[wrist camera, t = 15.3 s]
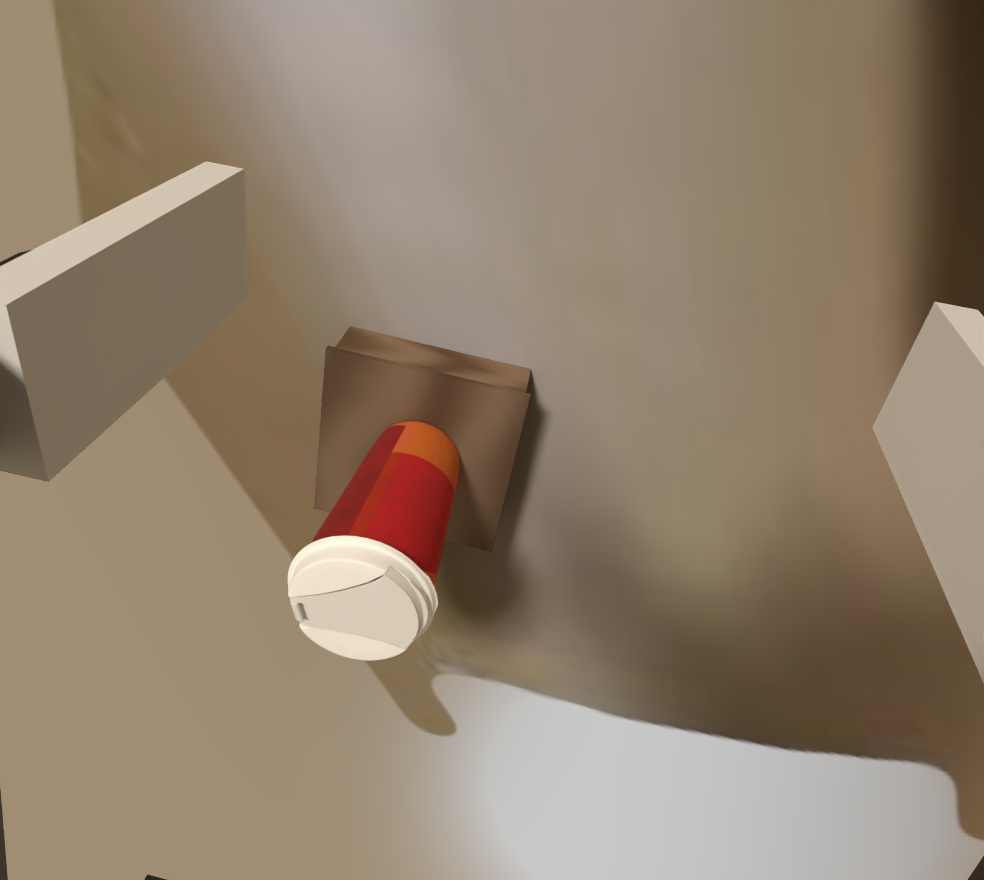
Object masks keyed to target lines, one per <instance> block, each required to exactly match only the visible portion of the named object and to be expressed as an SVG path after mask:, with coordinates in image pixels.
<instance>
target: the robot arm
mask: <svg viewBox="0 0 984 880" xmlns="http://www.w3.org/2000/svg"><path fill="white" fill-rule="evenodd" d="M249 300H250V290H249V269H248V247H247V226H246V205H245V183H244V169H242V168H237V167H232V166H226V165H221V164H216V163H211V162H204V163H202V164H201V165H199V166H197V167H195V168H193V169H191V170H189V171H187V172H185V173H183V174H181V175H179V176H177V177H175V178H173V179H171V180H169V181H167V182H165V183H163V184H161V185H159V186H157V187H155V188H153V189H151V190H149V191H147V192H145V193H143V194H142V195H140V196H138V197H136V198H134V199H132V200H130V201H128V202H126V203H124V204H122V205H120V206H118V207H116V208H114V209H112V210H110V211H108V212H106V213H104V214H102V215H100V216H98V217H96V218H94V219H92V220H90V221H88V222H86V223H85V224H83V225H81V226H79V227H77V228H75V229H73V230H71V231H69V232H67V233H65V234H63V235H61V236H59V237H57V238H55V239H53V240H51V241H49V242H47V243H45V244H43V245H41V246H39V247H37V248H36V249H33V250H29V251H25V252H21V253H18V254H16V255H14V256H12V257H10V258H8V259H6V260H4V261H2V262H0V471H4V472H8V473H13V474H17V475H22V476H26V477H30V478H35V479H39V480H43V481H48V482H49V481H50V480H51V479H52V478H53V477H54V476H55V475H56V474H58V473H59V472H60V471H61V470H62V469H63V468H64V467H65V466H66V465H68V464H69V463H70V462H71V461H72V460H73V459H74V458H75V457H76V456H78V455H79V453H81V452H82V451H83V450H84V449H85V448H86V447H87V446H88V445H90V444H91V443H92V442H93V441H94V440H95V439H96V438H97V437H99V435H101V434H102V433H103V432H104V431H105V430H106V429H107V428H108V427H110V426H111V425H112V424H113V423H114V422H115V421H116V420H117V419H118V418H120V417H121V416H122V415H123V414H124V413H125V412H126V411H127V410H128V409H130V408H131V407H132V406H133V405H134V404H135V403H136V402H137V401H138V400H140V399H141V398H142V397H143V396H144V395H145V394H146V393H147V392H148V391H149V390H151V389H152V388H153V387H154V386H155V385H156V384H157V383H158V382H159V381H161V380H162V379H163V378H164V377H165V376H166V375H167V374H168V373H169V372H171V371H172V370H173V369H174V368H175V367H176V366H177V365H178V364H179V363H181V362H182V361H183V360H184V359H185V358H186V357H187V356H188V355H189V354H191V353H192V352H193V351H194V350H195V349H196V348H197V347H198V346H199V345H201V344H202V343H203V342H204V341H205V340H206V339H207V338H208V337H209V336H210V335H212V334H213V333H214V332H215V331H216V330H217V329H218V328H219V327H220V326H222V325H223V324H224V323H225V322H226V321H227V320H228V319H229V318H230V317H232V316H233V315H234V314H235V313H236V312H237V311H238V310H239V309H240V308H242V307H243V306H244V305H245V304H246V303H247V302H248V301H249ZM872 428H873V430H874V432H875V434H876V437H877V439H878V441H879V444H880V446H881V448H882V451H883V453H884V455H885V457H886V460H887V462H888V464H889V467H890V469H891V471H892V474H893V476H894V478H895V480H896V483H897V485H898V487H899V490H900V492H901V494H902V497H903V499H904V501H905V504H906V506H907V508H908V510H909V513H910V515H911V517H912V520H913V522H914V524H915V527H916V529H917V531H918V533H919V536H920V538H921V540H922V543H923V545H924V547H925V550H926V552H927V554H928V556H929V559H930V561H931V563H932V566H933V568H934V570H935V573H936V575H937V577H938V579H939V582H940V584H941V586H942V589H943V591H944V593H945V596H946V598H947V600H948V603H949V605H950V607H951V609H952V612H953V614H954V616H955V619H956V621H957V623H958V626H959V628H960V630H961V632H962V635H963V637H964V639H965V642H966V644H967V646H968V649H969V651H970V653H971V655H972V658H973V660H974V662H975V665H976V667H977V669H978V672H979V674H980V676H981V679H982V681H983V683H984V317H983V315H982V314H981V313H980V312H979V311H978V310H976V309H970V308H965V307H960V306H955V305H950V304H944V303H939V302H934V304H933V306H932V308H931V310H930V312H929V314H928V316H927V318H926V320H925V322H924V324H923V326H922V328H921V330H920V332H919V334H918V336H917V338H916V340H915V342H914V345H913V347H912V349H911V351H910V353H909V355H908V357H907V359H906V361H905V363H904V365H903V367H902V369H901V371H900V373H899V375H898V377H897V379H896V381H895V383H894V385H893V387H892V389H891V391H890V393H889V395H888V397H887V399H886V401H885V403H884V405H883V407H882V409H881V411H880V413H879V415H878V417H877V419H876V421H875V423H874V425H873V427H872ZM0 880H8V878H7V866H6V853H5V841H4V829H3V816H2V805H1V792H0ZM145 880H165V879H162V878H158V877H155V876H151V875H147V876H146V878H145ZM968 880H984V856H983V858H982V859H981V861H980V862H979V864H978V865H977V867H976V868H975V870H974V871H973V873H972V874H971V876H970V877H969V879H968Z"/></svg>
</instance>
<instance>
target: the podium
mask: <svg viewBox="0 0 984 880" xmlns="http://www.w3.org/2000/svg"><path fill="white" fill-rule="evenodd" d="M530 372H531V369H526V368H522V367H518V366H514V365H509V364H505V363H501V362H497V361H493V360H488V359H484V358H480V357H476V356H472V355H467V354H463V353H459V352H455V351H451V350H446V349H442V348H438V347H434V346H429V345H425V344H421V343H417V342H413V341H408V340H404V339H400V338H396V337H392V336H387V335H383V334H379V333H375V332H371V331H366V330H362V329H358V328H354V327H350V328H349V329H348V330H347V332H346V333H345V335H344V336H343V337H342V339H341V340H340V341H339V343H338V344H337V346H336V347H331V346H327V348H326V353H325V367H324V381H323V395H322V408H321V422H320V436H319V450H318V463H317V477H316V491H315V505H314V509H318V510H322V511H326V512H331V510H332V509H333V507H334V506H335V504H336V502H337V501H338V499H339V498H340V496H341V495H342V493H343V491H344V490H345V488H346V487H347V485H348V483H349V482H350V480H351V479H352V477H353V476H354V474H355V472H356V471H357V469H358V468H359V466H360V465H361V463H362V462H363V460H364V458H365V457H366V455H367V454H368V452H369V451H370V449H371V448H372V446H373V445H374V443H375V442H376V440H377V439H378V438H379V436H380V435H381V434H382V433H383V432H384V431H385V430H386V429H387V428H388V427H390V426H391V425H393V424H396V423H398V422H402V421H409V420H414V421H422V422H426V423H429V424H432V425H434V426H436V427H438V428H439V429H441V430H442V431H443V432H445V433H446V434H447V435H448V436H449V437H450V438H451V439H452V441H453V442H454V444H455V446H456V448H457V450H458V453H459V460H460V465H459V473H458V479H457V484H456V489H455V494H454V499H453V503H452V508H451V513H450V517H449V522H448V527H447V531H446V536H445V541H449V542H453V543H458V544H462V545H466V546H470V547H474V548H478V549H482V550H486V551H490V552H492V548H493V544H494V540H495V536H496V532H497V528H498V524H499V520H500V516H501V512H502V508H503V504H504V500H505V496H506V492H507V488H508V484H509V480H510V476H511V472H512V468H513V464H514V460H515V456H516V452H517V448H518V444H519V440H520V436H521V432H522V428H523V424H524V420H525V416H526V412H527V408H528V404H529V400H530V395H531V394H529V393H526V390H527V386H528V381H529V377H530Z"/></svg>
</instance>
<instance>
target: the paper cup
mask: <svg viewBox="0 0 984 880" xmlns="http://www.w3.org/2000/svg"><path fill="white" fill-rule="evenodd" d="M459 465H460V460H459V453H458V450H457V448H456V446H455V444H454V442H453V441H452V439H451V438H450V437H449V436H448V435H447V434H446V433H445V432H443V431H442V430H441V429H439V428H438V427H436V426H434V425H432V424H429V423H426V422H422V421H414V420H409V421H402V422H398V423H396V424H393V425H391V426H390V427H388V428H387V429H386V430H385V431H384V432H383V433H382V434H381V435H380V436H379V438H378V439H377V440H376V442H375V443H374V445H373V446H372V448H371V449H370V451H369V452H368V454H367V455H366V457H365V458H364V460H363V462H362V463H361V465H360V466H359V468H358V469H357V471H356V472H355V474H354V476H353V477H352V479H351V480H350V482H349V483H348V485H347V487H346V488H345V490H344V491H343V493H342V495H341V496H340V498H339V499H338V501H337V502H336V504H335V506H334V507H333V509H332V510H331V512H330V514H329V515H328V517H327V518H326V520H325V522H324V523H323V525H322V526H321V528H320V529H319V531H318V533H317V534H316V536H315V537H314V539H313V541H312V542H311V543H310V544H309V545H307V546H306V547H304V548H303V549H302V550H301V551H300V552H299V553H298V554H297V555H296V556H295V558H294V559H293V561H292V563H291V566H290V568H289V572H288V588H289V591H288V596H289V597H290V599H291V606H292V609H293V612H294V615H295V617H296V620H298V621H300V629H301V630H302V631H303V632H304V633H305V634H306V635H307V636H308V637H309V638H310V639H311V640H313V641H314V642H316V643H317V644H319V645H320V646H322V647H323V648H325V649H327V650H329V651H331V652H334V653H336V654H338V655H341V656H345V657H348V658H353V659H358V660H381V659H387V658H390V657H393V656H396V655H398V654H400V653H402V652H403V651H405V650H406V649H407V648H408V647H409V645H410V644H411V642H413V641H414V640H416V639H417V638H418V637H420V636H421V635H422V634H423V633H424V632H425V631H426V630H427V629H428V627H429V626H430V624H431V622H432V620H433V617H434V614H435V611H436V608H437V606H438V598H437V593H436V590H435V587H434V586H435V581H436V577H437V572H438V568H439V563H440V559H441V554H442V549H443V545H444V540H445V536H446V531H447V527H448V522H449V517H450V513H451V508H452V503H453V499H454V494H455V489H456V484H457V479H458V473H459Z"/></svg>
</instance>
